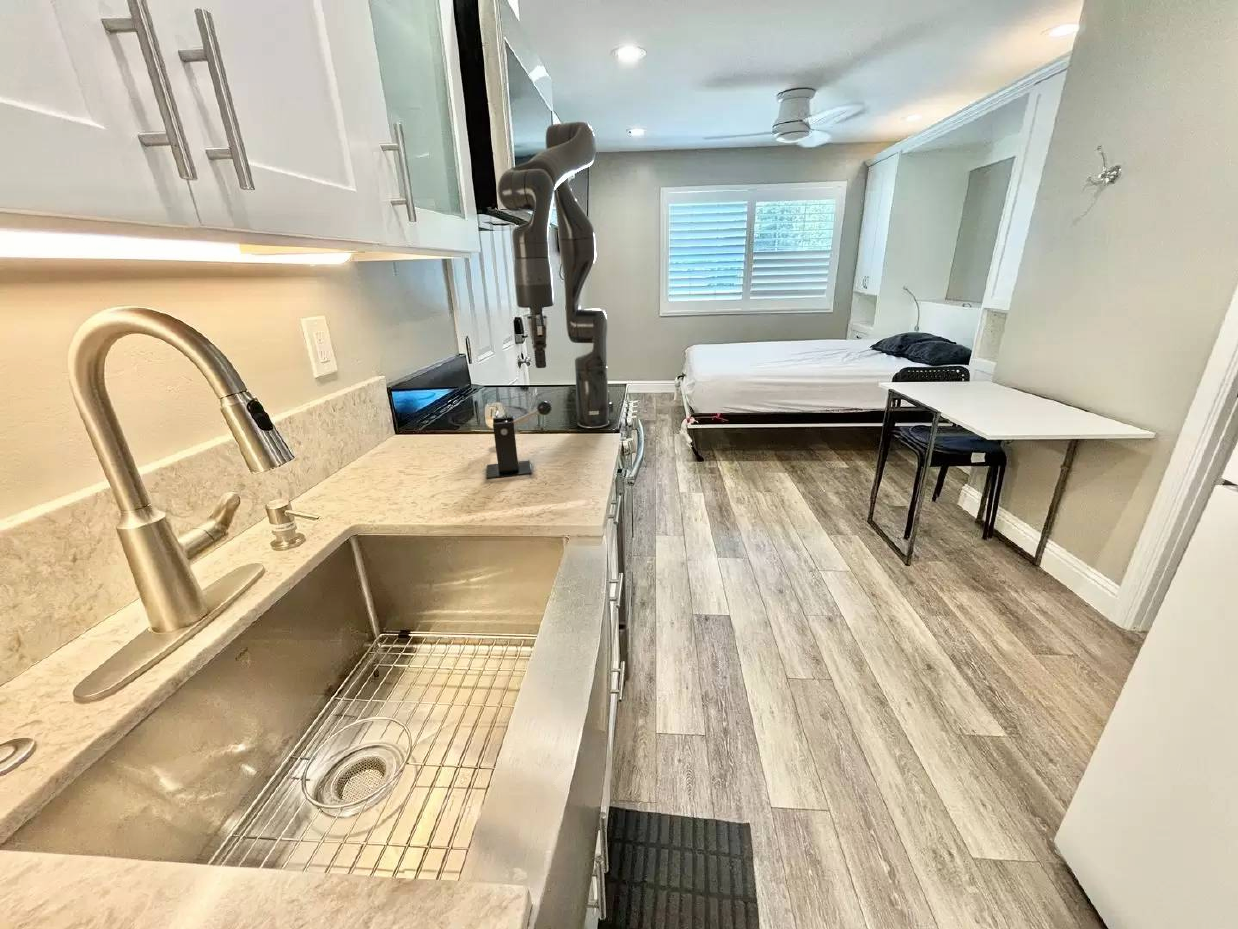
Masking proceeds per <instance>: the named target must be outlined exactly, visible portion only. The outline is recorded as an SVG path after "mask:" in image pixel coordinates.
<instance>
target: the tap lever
mask: <svg viewBox="0 0 1238 929" xmlns="http://www.w3.org/2000/svg"><path fill="white" fill-rule="evenodd" d="M551 412H552V405H551V403H550V402H549V401H546V400H543V401H539V403H538V404H537V405H536V409H534V410H532V411H530V412H528V413H526V414H523V415H522V416H519V417H517V418H516V419H513V422H514V427H515V426H518V425H520V424H522V423H523V422H526V421H527V420H529V419H532V418H534V417H536V416H539V415H540V416H548V415H550V413H551ZM503 422H508V420H505V421H503ZM511 422H512V421H511Z"/></svg>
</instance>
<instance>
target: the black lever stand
mask: <svg viewBox="0 0 1238 929" xmlns="http://www.w3.org/2000/svg"><path fill="white" fill-rule="evenodd" d="M505 420H508V422H503V421H505ZM513 420H514V416H507V417H501V418H493V438H494V445H495V452H496V460H497V463H491V464H486V474H485V475H486V476H485V478H486V480H494V479H495V480H496V479H503V478H504V479H505V478H512V477H521V476H522V477H523V476H531V475H533V471H532V466H531V461H530V460H519V458H518V451H517V450H518V449H517V441H516V440H517V439H516V432H515V426H514V422H513ZM511 421H512V422H511Z"/></svg>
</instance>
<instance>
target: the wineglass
mask: <svg viewBox="0 0 1238 929" xmlns="http://www.w3.org/2000/svg"><path fill="white" fill-rule="evenodd" d="M483 416H484V417H483V419H484V423H485V425H486V426H487V427H488V428H490V429H493V418H501V417H508V412H507V409H506V407H505V404H504V403H503V402H499V401H498V402H489V403H486V404H484V411H483ZM493 430H494V429H493Z"/></svg>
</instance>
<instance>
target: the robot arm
mask: <svg viewBox="0 0 1238 929" xmlns="http://www.w3.org/2000/svg"><path fill="white" fill-rule="evenodd" d="M545 131H546V132H545V149H544V150H541V151H539V152H538V153H536V154H535V155H534V156H533V157H532V158H531V159H529V160H528V161H526V162H524V163H521V164H519V165H516V166H513V167H510V168H509V169H507V170H505V171H504V172H503V173H502V174H501V175H500V177H499V180H498V183H497V196H498V199H499V202H500V203H501V205H502V206H503V207H504V208H505V209H506V210H507V211H509V212H512V213H526V212H527V213H530V212H532V213H531V216H530V218H529V220H528V221H527V222H526V223H524V224H521V225H517V226H515V227H514V228H513V229H512V232H511V241H512V250H513V251H512V252H513V261H514V262H513V271H514V272H513V273H514V274H513V275H514V284H515V294H516V295H515V296H516V305H517V307H518V308H523V309H529V315H526V322H527V323H526V324H527V325H528V331H529V338H530V340H531V344H532V349H533V352H534V354H533V355H534V363H535V364H534V365H535V368H536V369H545V368H546V367H547V360H546V349H547V339H548V332H547V330H548V329H547V326H548V316H546V315H545V314H544V311H543V310H544V308H550V307H553V306H554V304H555V301H554V300H555V299H554V287H553V272H552V266H551V260H550V259H551V258H550V248H549V232H550V231H549V229H550V222H551V216H552V211H553V204H554V205H555V206H554V207H555V214H556V224H557V226H556V227H557V235H558V238H557V239H558V246H559V254H560V260H561V268H562V277H563V286H564V303H565V304H564V306H565V307H564V308H565V325H566V333H567V336H568V339H569V341H570V342H571V343H574V344H592V349H591V350H590V351H588V352H587V353H585V354H581V355H578V356H577V357H575V358H574V374H575V391H576V408H577V409H576V410H577V426H578V427H579V428H581V429H584V430H585V429H586V430H599V429H604V428H607V427H608V426H610V423H611V413H614V402H613V401H611V400H610V397H611V396H610V391H609V383H608V382H609V381H608V318H607V314H606V312H605V310H604V309H602V308H581V295H582V290H583V287H584V285H585V282H586V280H587V278H588V277H589V275H590V272H591V271H592V268H593V266H594V264H595V261H596V258H597V252H596V251H597V250H596V237H595V229H594V227H593V224H592V222H591V220H590V218H589V217H588V215H587V214H586V212H585V211H584V209H583V208H582V206H581V205H580V203H579V202H578V201H577V199H576V197H575V195H574V192H573V191H572V188H571V184H570V182H569V178H570V177H571V176H572V175H574V174H576V173H577V172H579V171H581V170H583V169H586V168H588V167H590V166H592V164H593V163H594V161H595V157H596V154H597V152H596V151H597V145H596V144H597V143H596V137H595V134H594V133H595V132H594V131H593V129H592V126H590V125H589V124H588V123H587V122H584V121H573V122H563V123H553V124H550V125H549V126H548V127H547V128H546V130H545Z"/></svg>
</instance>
